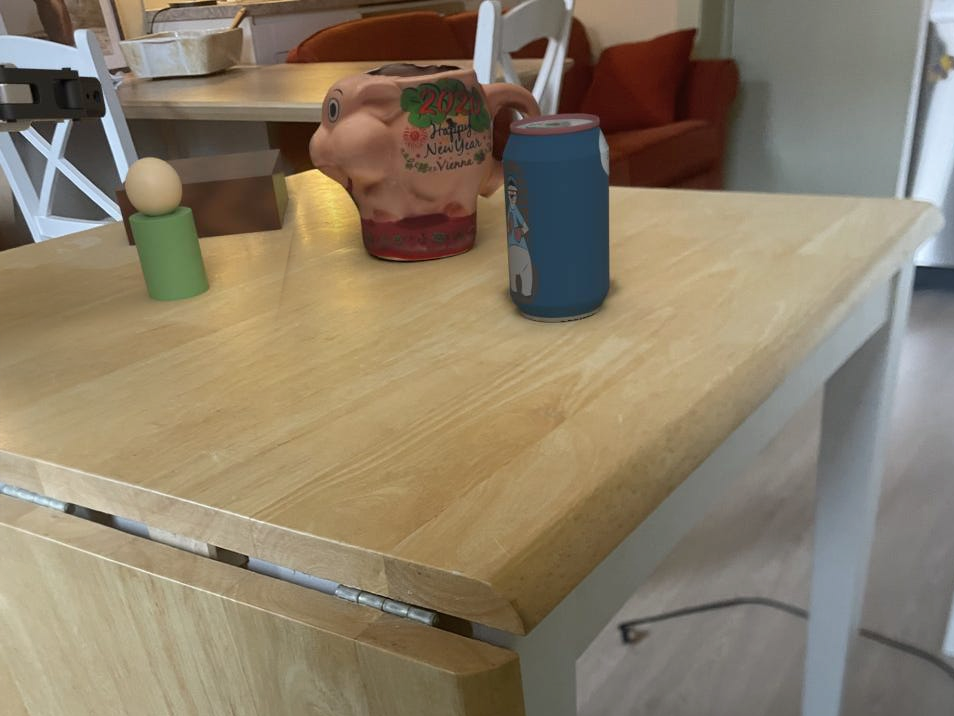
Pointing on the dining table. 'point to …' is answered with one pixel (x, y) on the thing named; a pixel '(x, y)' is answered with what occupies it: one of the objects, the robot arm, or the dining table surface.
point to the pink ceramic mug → (415, 153)
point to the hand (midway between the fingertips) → (44, 101)
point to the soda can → (557, 216)
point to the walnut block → (226, 193)
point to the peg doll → (164, 232)
